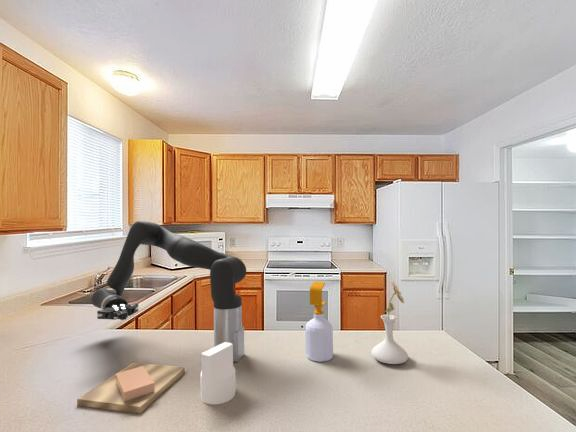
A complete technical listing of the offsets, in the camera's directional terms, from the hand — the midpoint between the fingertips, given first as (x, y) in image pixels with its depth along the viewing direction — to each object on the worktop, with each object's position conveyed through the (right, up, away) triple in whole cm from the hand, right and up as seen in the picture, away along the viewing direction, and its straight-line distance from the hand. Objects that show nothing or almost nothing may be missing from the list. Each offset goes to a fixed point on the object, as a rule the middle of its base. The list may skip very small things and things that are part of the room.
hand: (123, 316), depth 96 cm
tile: (+7, -13, -10) cm, 18 cm away
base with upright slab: (+34, -15, -16) cm, 40 cm away
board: (+10, -16, -12) cm, 22 cm away
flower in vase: (+86, -15, +3) cm, 87 cm away
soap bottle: (+63, -15, +6) cm, 65 cm away
